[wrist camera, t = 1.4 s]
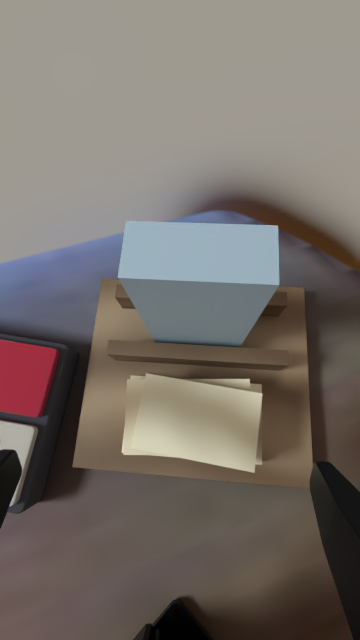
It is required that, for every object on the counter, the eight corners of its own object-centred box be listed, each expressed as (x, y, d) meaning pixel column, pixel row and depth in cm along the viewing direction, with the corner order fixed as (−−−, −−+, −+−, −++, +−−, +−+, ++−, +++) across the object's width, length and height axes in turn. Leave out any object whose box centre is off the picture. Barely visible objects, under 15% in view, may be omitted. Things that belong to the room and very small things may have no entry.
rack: (307, 484, 21) (329, 498, 17) (78, 464, 22) (56, 473, 19) (299, 293, 25) (315, 274, 22) (106, 284, 26) (92, 264, 23)
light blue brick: (237, 350, 23) (279, 284, 11) (157, 345, 23) (117, 277, 12) (238, 318, 23) (277, 225, 12) (160, 314, 24) (126, 221, 12)
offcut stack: (258, 464, 20) (269, 474, 17) (124, 453, 21) (112, 460, 18) (258, 383, 22) (268, 377, 19) (134, 374, 23) (123, 368, 19)
